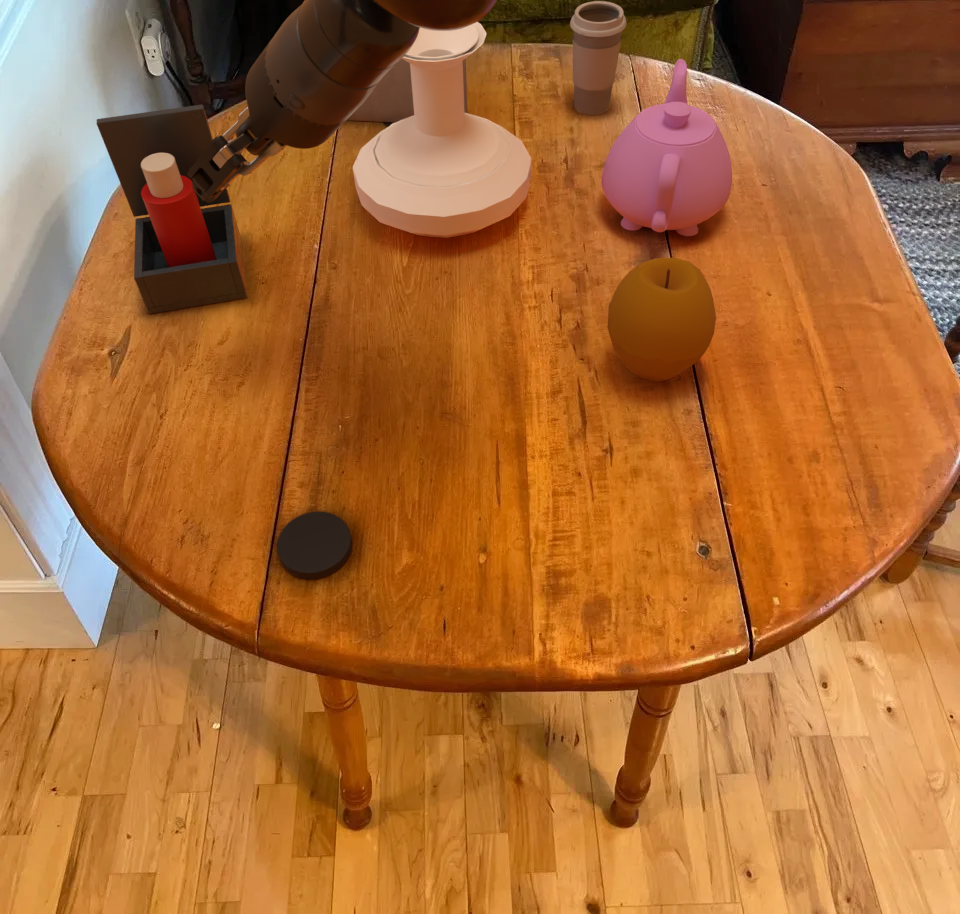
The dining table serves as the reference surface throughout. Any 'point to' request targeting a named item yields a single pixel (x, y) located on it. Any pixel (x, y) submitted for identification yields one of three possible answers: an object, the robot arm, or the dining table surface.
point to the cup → (595, 54)
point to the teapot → (669, 165)
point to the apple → (661, 318)
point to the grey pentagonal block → (394, 97)
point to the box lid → (156, 146)
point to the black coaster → (314, 545)
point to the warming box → (191, 266)
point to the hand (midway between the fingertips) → (235, 168)
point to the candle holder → (442, 151)
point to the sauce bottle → (175, 212)
